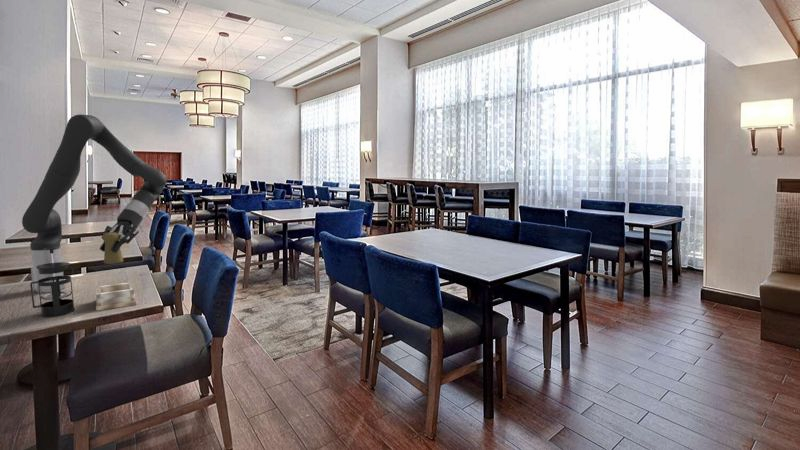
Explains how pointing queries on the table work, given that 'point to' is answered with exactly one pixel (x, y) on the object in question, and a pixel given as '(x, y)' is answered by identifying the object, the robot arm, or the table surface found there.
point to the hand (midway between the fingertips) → (107, 250)
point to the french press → (54, 289)
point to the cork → (109, 255)
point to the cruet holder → (115, 296)
